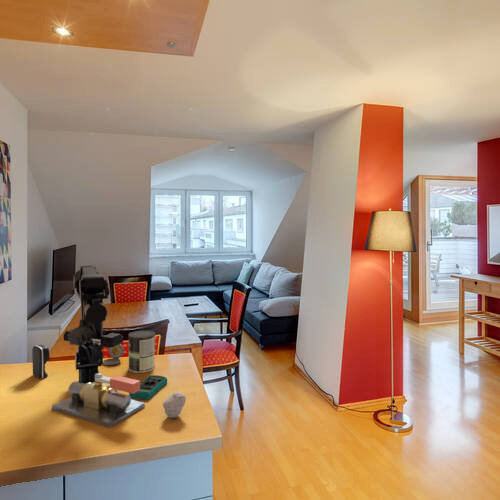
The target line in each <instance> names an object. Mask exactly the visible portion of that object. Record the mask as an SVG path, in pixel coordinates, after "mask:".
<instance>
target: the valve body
mask: <svg viewBox="0 0 500 500" xmlns="http://www.w3.org/2000/svg"><path fill="white" fill-rule="evenodd" d="M67 391H68V394H70V395H71V396H69V397H68V398H65V399H63V400H60V401H59V402H56V403H54V404H52V405H51V410H52V411H56V412H59V413H63V414H66V415H70V416H73V417H75V418H78V419H82V420H84V421H89V422H92V423H95V424H97V425H98V424H99V425H100V426H101V425H102V426H103V427H108V428H113V427H114V426H116V425H117V424H119V423H120V422H123V421H124V420H126V419H127V418H129V417H130V416H132V415H134V414H135V413H137V412H138V411H140V410H142V409H143V408H145V407H146V405H145V402H143V401H138V400H137V399H133V398H131V397H130V396H129V394H126V393H122V392H119V390H116V389H112V388H110V384H107V383H103V382H97V381H95V382H93V383H91V382H88V383H86V384H84V383H80V382H78V381H73V382H71V383H70V384H69V386H68V390H67Z"/></svg>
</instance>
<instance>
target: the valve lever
mask: <svg viewBox="0 0 500 500" xmlns="http://www.w3.org/2000/svg"><path fill="white" fill-rule="evenodd" d="M95 381H97V382H103V383H107V384H110V388H112V389H116V390H117V391H121V392H124V393H125V392H126V393H128V394H129V393H132V394H134V393H136V392H138V391H139V390H140V383H141V380H138V379H134V378H129V377H124V376H120V375H115V376H113V377H109V376H105V375H103V373H102V372H99V373H97V374H95Z"/></svg>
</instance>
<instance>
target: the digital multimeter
mask: <svg viewBox="0 0 500 500" xmlns="http://www.w3.org/2000/svg"><path fill="white" fill-rule="evenodd" d="M167 384H168V378H167V377H165V376H162V375H152V374H151V375H148V376H147V378H144V380H142V381H140V390H139V391H138V392H136V393H134V394H132V393H128V395H129V396H130V397H131V399H135V400H137V399H138V400H145V401H146V400H150V399H151V398H153V396H154V395H155V394H157V393H158V392H159V391H160V390H161V389H162V388H163V387H164V386H166V385H167Z"/></svg>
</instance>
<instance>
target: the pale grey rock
mask: <svg viewBox="0 0 500 500" xmlns="http://www.w3.org/2000/svg"><path fill="white" fill-rule="evenodd" d="M186 398H187V396H186V395H185V394H183V393H181V392H179V391H175V392H173V394H171V395H169V396H168V397H167V398H166V399H165V400H164V401H163V402H162V407H163V409H164V413H165V415H166V417H168V418H170V419H175V418H177V417H179V416H180V414H181V413H182V410H183V407H184V406H185V404H186V401H187V400H186Z"/></svg>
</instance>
